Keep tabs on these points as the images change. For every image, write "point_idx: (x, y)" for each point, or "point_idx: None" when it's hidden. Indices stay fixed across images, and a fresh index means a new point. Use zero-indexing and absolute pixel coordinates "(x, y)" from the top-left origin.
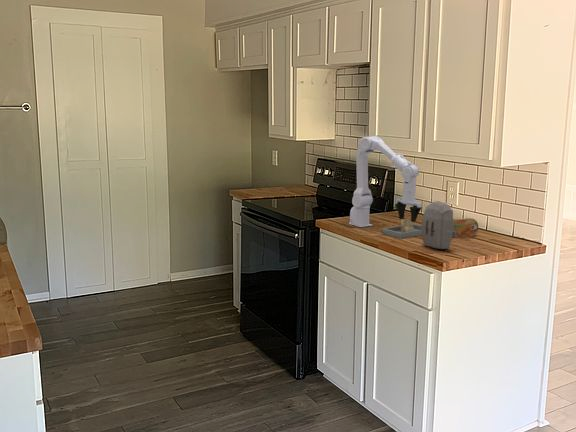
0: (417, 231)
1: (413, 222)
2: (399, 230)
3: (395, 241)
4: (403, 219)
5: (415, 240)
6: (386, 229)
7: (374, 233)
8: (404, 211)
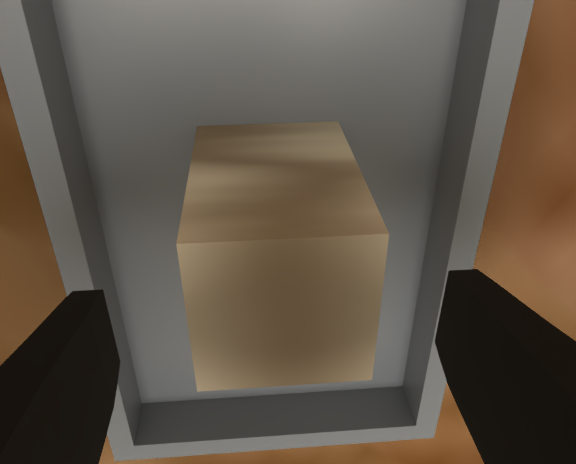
0: (484, 189)
1: (374, 214)
2: (110, 197)
3: (443, 457)
4: (215, 365)
5: (561, 310)
6: (185, 452)
7: None
8: (32, 411)
